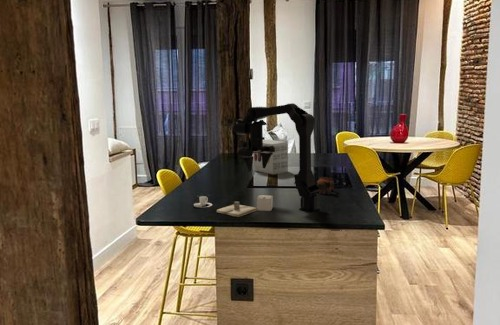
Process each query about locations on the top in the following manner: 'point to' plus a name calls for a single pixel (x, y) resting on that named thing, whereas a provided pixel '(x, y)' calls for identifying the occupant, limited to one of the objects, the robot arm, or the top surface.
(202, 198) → the white ring with cylinder
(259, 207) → the small white box
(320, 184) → the pottery mug
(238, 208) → the board
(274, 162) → the supplement box
